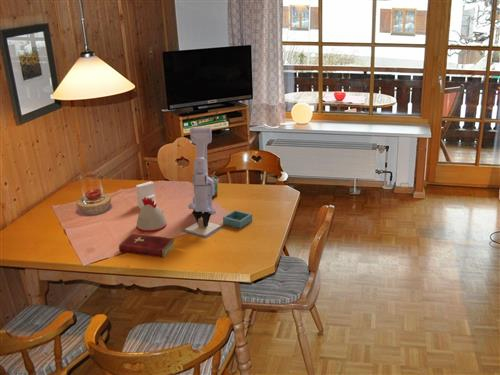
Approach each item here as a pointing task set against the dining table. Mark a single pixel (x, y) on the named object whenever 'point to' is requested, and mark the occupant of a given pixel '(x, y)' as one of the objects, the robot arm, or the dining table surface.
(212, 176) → the food container
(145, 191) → the base with upright slab
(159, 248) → the hardcover book
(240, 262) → the dining table surface
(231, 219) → the teal square tray
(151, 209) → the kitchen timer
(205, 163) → the robot arm
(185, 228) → the mat
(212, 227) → the lid
